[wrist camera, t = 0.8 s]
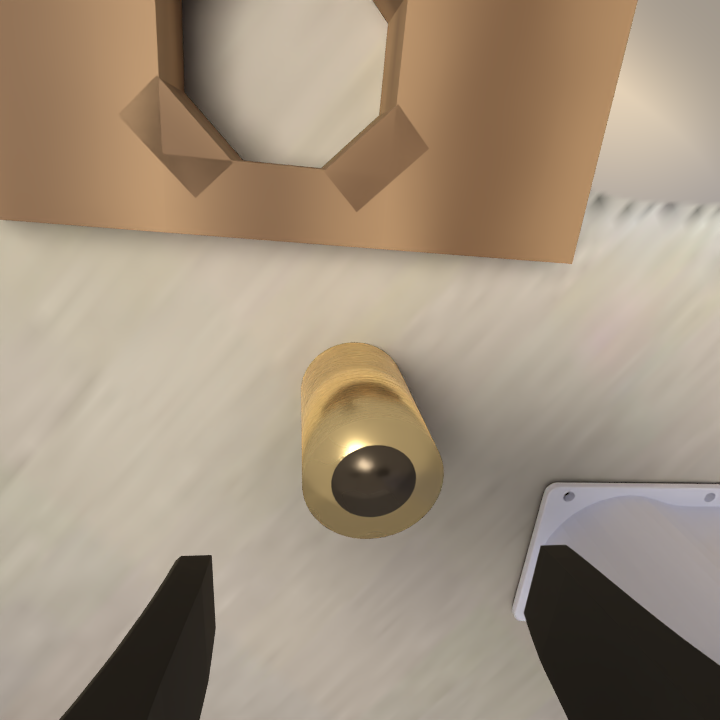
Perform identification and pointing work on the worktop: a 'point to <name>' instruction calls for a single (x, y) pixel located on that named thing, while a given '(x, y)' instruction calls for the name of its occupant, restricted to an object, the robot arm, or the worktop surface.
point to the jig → (349, 166)
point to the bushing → (365, 445)
